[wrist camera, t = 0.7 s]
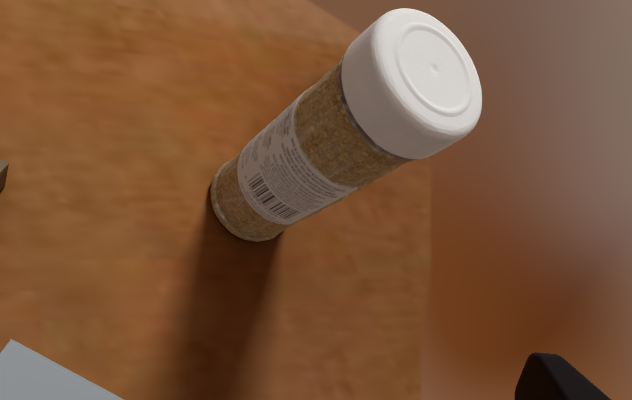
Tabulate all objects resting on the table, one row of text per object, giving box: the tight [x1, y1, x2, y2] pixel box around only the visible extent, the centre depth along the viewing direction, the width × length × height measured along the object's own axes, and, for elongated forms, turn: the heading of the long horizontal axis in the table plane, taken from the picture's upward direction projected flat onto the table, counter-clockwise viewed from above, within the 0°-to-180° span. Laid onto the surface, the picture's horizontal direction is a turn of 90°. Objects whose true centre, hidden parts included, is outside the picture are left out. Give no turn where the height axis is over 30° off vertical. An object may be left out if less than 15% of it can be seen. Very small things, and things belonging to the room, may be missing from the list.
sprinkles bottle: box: [211, 8, 482, 242], centre depth 21 cm, size 5×5×14 cm
